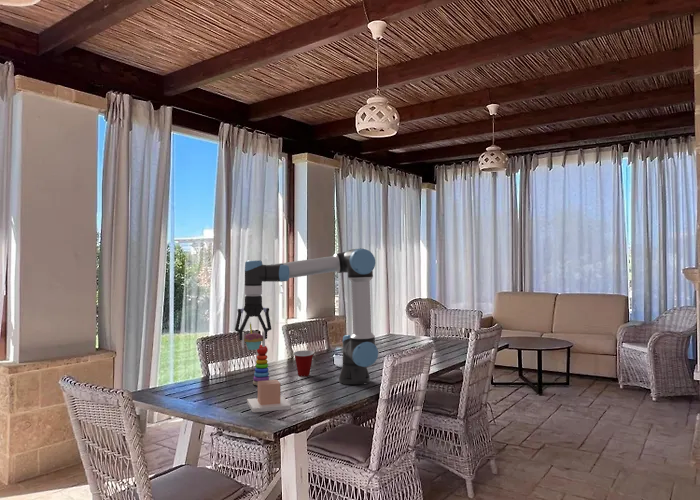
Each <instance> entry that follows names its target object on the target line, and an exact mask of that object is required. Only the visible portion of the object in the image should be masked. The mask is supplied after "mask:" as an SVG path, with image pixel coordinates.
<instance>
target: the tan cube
mask: <svg viewBox="0 0 700 500" xmlns="http://www.w3.org/2000/svg"><path fill="white" fill-rule="evenodd" d="M280 396H281V382H280V380H278V379H269V380H266V381H258V386H257V398H258V402H259V404H260V405H268V404H279V403H280Z"/></svg>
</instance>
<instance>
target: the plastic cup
mask: <svg viewBox="0 0 700 500" xmlns="http://www.w3.org/2000/svg"><path fill="white" fill-rule="evenodd" d="M314 354H315V352H314V350H307V349H305V350H298V351H294V352H293V356H294V359H295V364H296V365H295V366H296V369H297V371H296V372H297V375H298V376H299V377H309V376H310V374H311V368H312V364H313V363H312V362H313V357H314Z"/></svg>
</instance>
